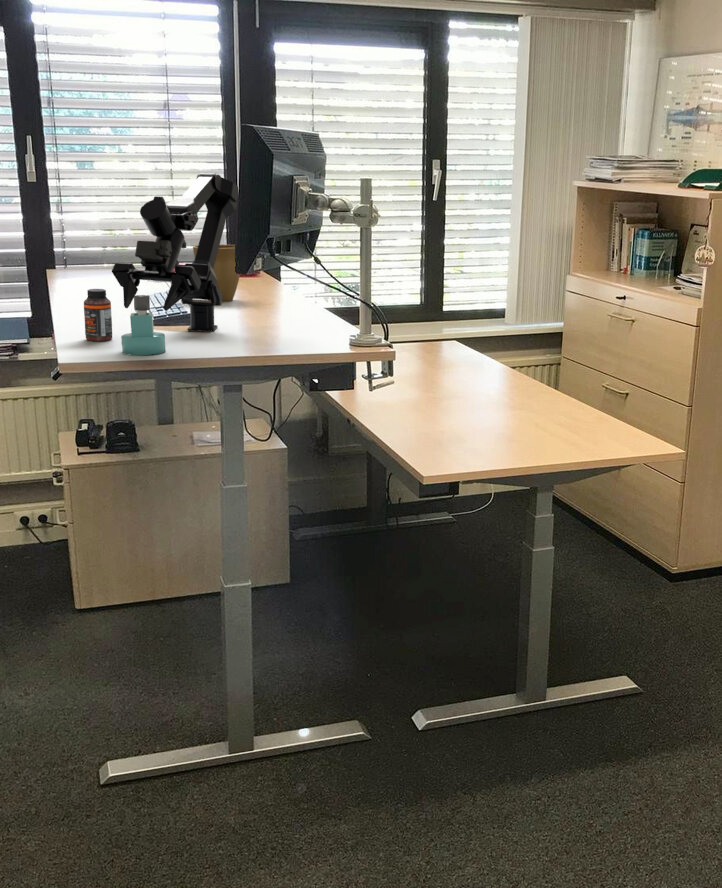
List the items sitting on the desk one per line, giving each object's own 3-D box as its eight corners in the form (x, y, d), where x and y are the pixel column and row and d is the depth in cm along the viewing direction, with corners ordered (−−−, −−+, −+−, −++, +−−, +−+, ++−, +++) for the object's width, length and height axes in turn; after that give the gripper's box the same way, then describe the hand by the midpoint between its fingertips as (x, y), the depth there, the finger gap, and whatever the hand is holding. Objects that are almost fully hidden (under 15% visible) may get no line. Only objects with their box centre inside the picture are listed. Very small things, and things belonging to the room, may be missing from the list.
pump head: (137, 332, 198) (135, 295, 195) (152, 333, 198) (150, 295, 195) (134, 335, 195) (132, 297, 192) (149, 335, 195) (147, 297, 192)
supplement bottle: (79, 340, 208) (76, 289, 205) (98, 336, 213) (95, 287, 210) (100, 342, 206) (97, 292, 202) (118, 339, 211) (115, 289, 207)
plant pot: (248, 297, 282) (247, 244, 277) (240, 304, 268) (239, 248, 263) (199, 296, 282) (198, 243, 278) (189, 303, 268) (188, 247, 263)
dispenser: (123, 348, 201) (121, 311, 198) (166, 347, 202) (163, 310, 200) (121, 356, 192) (118, 318, 190) (165, 354, 194) (162, 316, 191)
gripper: (113, 224, 198) (89, 282, 191) (193, 227, 194) (172, 287, 187) (132, 258, 208) (111, 314, 201) (209, 262, 203) (190, 319, 196)
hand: (145, 308), depth 196 cm, fingers open, 9 cm apart
